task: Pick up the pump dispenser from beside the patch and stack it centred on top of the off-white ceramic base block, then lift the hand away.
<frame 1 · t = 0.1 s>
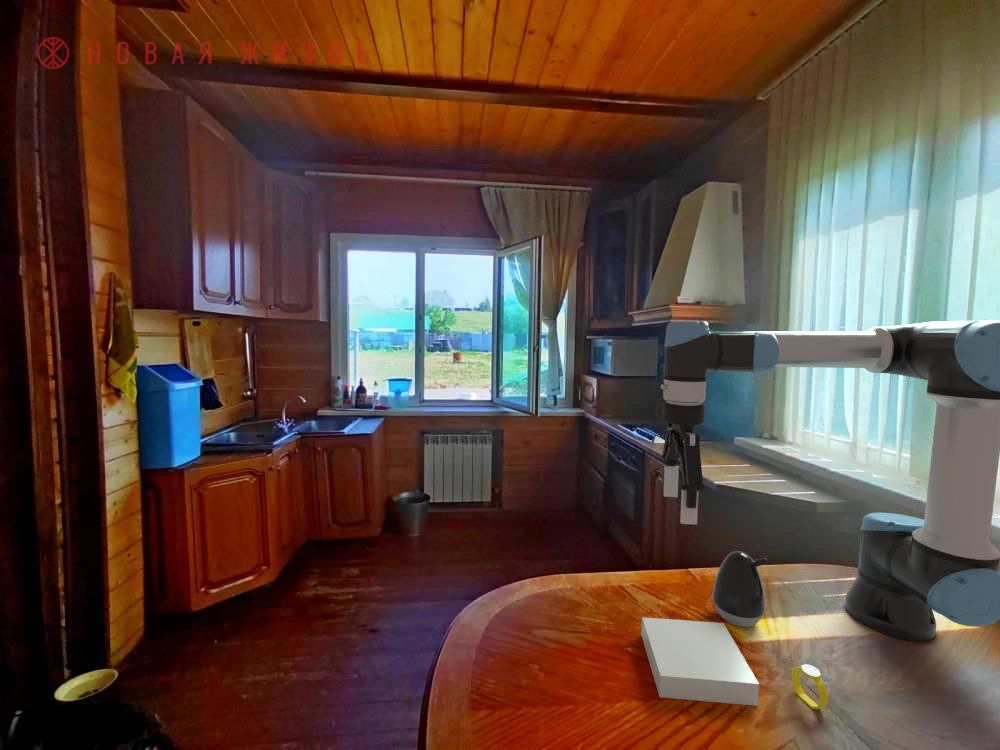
hand: (678, 509, 90), 28 cm above the table, fingers open, 13 cm apart
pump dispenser: (737, 619, 100), on the table
watch: (808, 702, 78), on the table
ceramic base: (693, 667, 86), on the table
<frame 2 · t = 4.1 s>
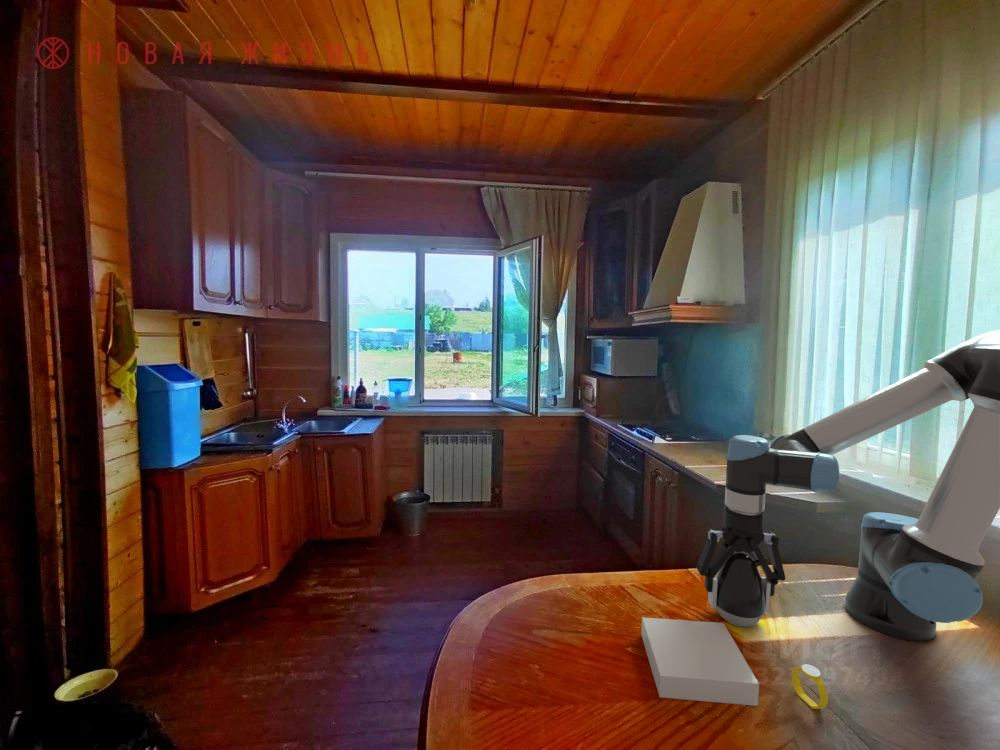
hand: (737, 606, 100), 3 cm above the table, fingers closed on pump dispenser, 10 cm apart
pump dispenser: (737, 619, 100), on the table, touching gripper
everything else where it was.
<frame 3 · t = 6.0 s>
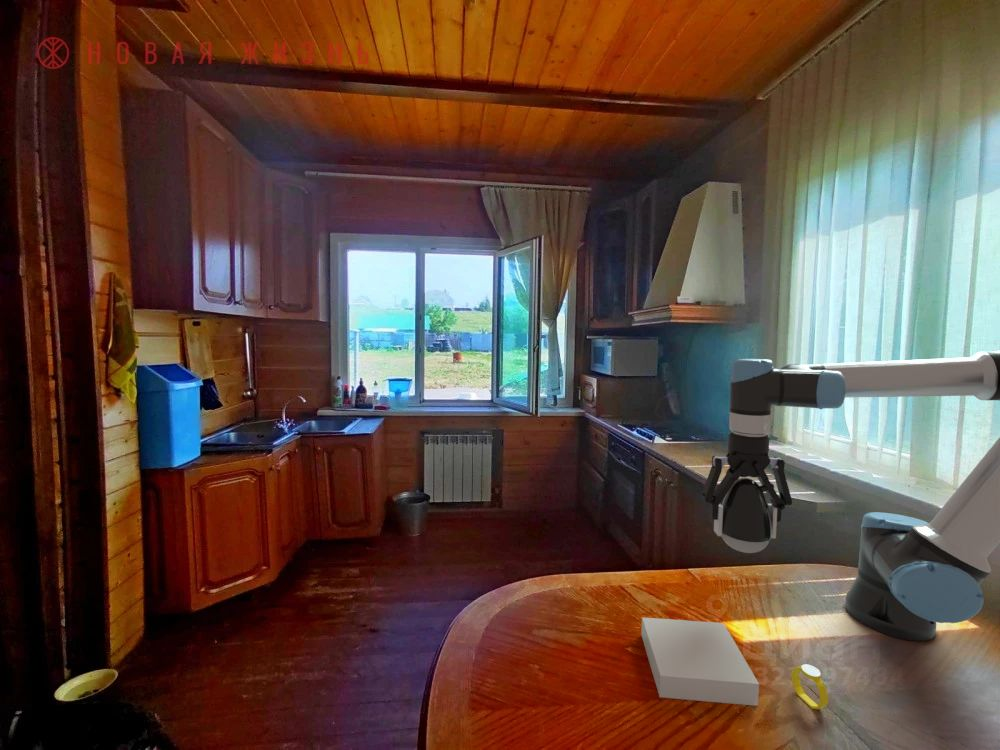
hand: (744, 534, 98), 19 cm above the table, fingers closed on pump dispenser, 10 cm apart
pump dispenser: (744, 548, 98), point 16 cm above the table, touching gripper
everything else where it was.
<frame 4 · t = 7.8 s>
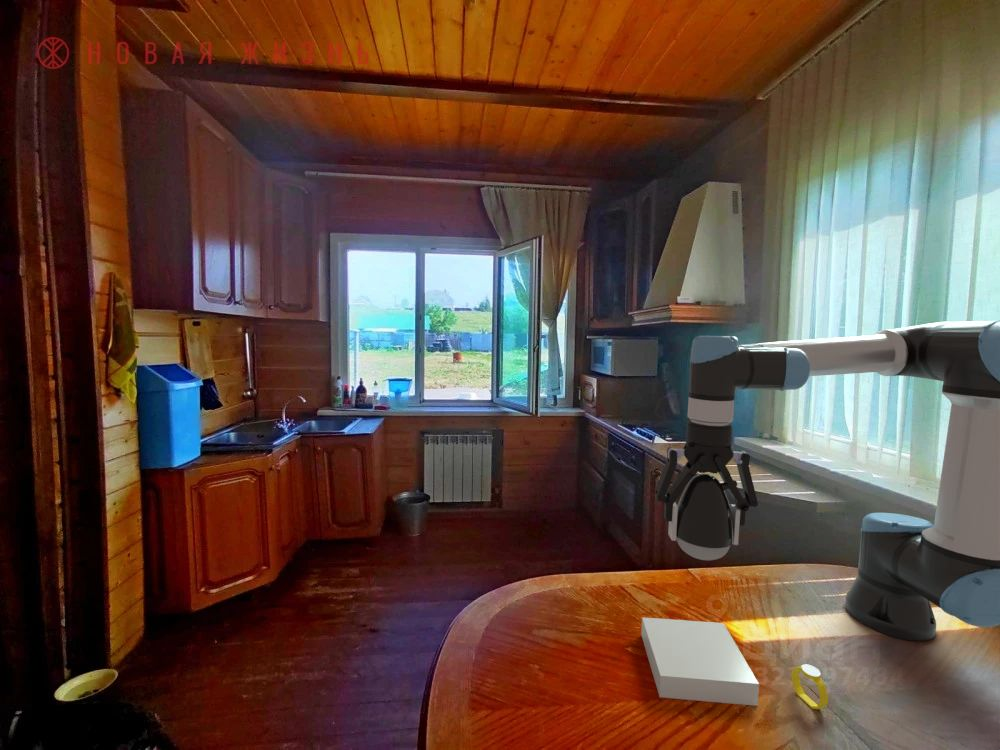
hand: (702, 539, 85), 24 cm above the table, fingers closed on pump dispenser, 10 cm apart
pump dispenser: (702, 554, 85), point 21 cm above the table, touching gripper
everything else where it was.
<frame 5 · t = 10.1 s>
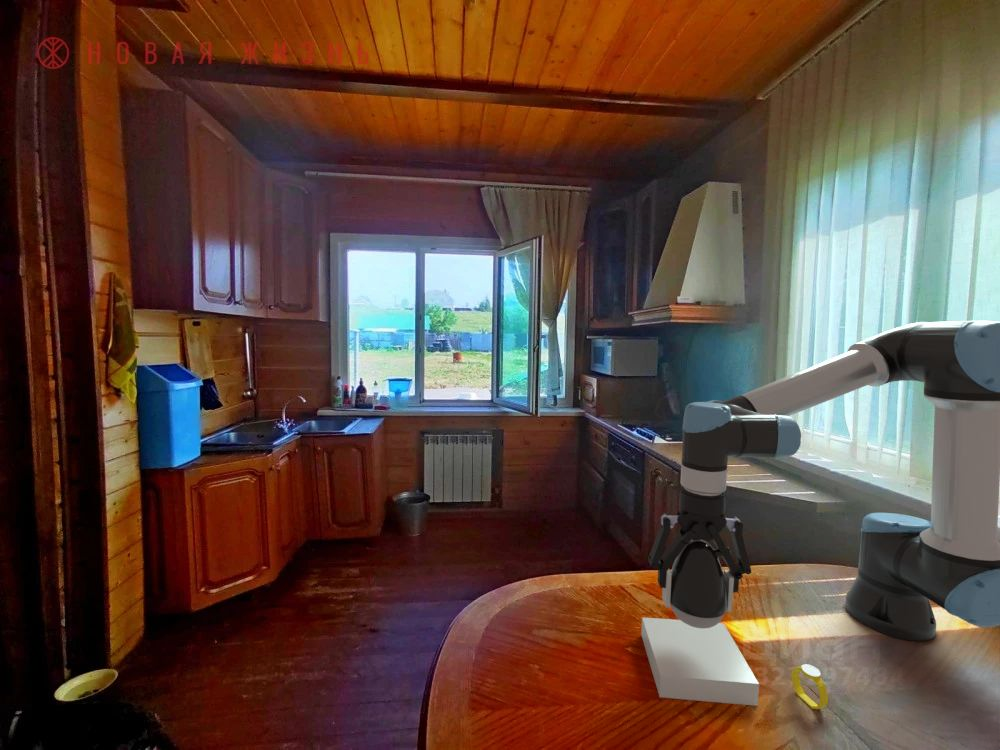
hand: (696, 605, 85), 12 cm above the table, fingers closed on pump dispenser, 10 cm apart
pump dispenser: (696, 620, 85), point 9 cm above the table, touching gripper
everything else where it was.
when the fingers open (8 cm above the table, at t = 12.0 s): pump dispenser drops 1 cm, resting on ceramic base.
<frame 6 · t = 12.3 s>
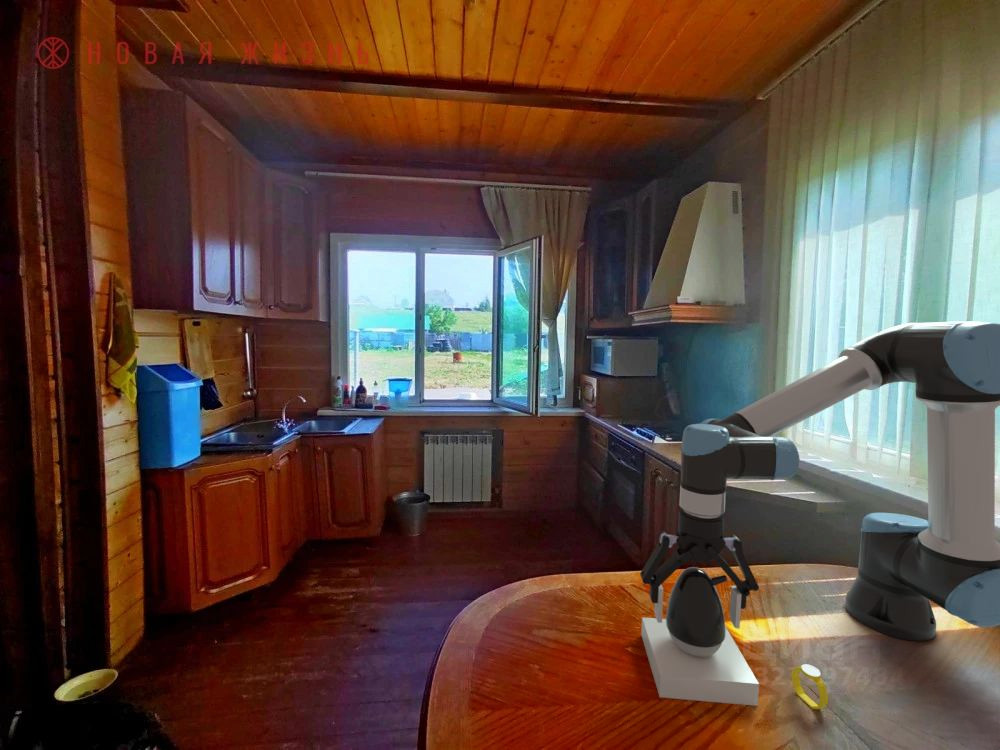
hand: (695, 621, 85), 9 cm above the table, fingers open, 13 cm apart
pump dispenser: (695, 647, 85), point 4 cm above the table, touching ceramic base
everything else where it was.
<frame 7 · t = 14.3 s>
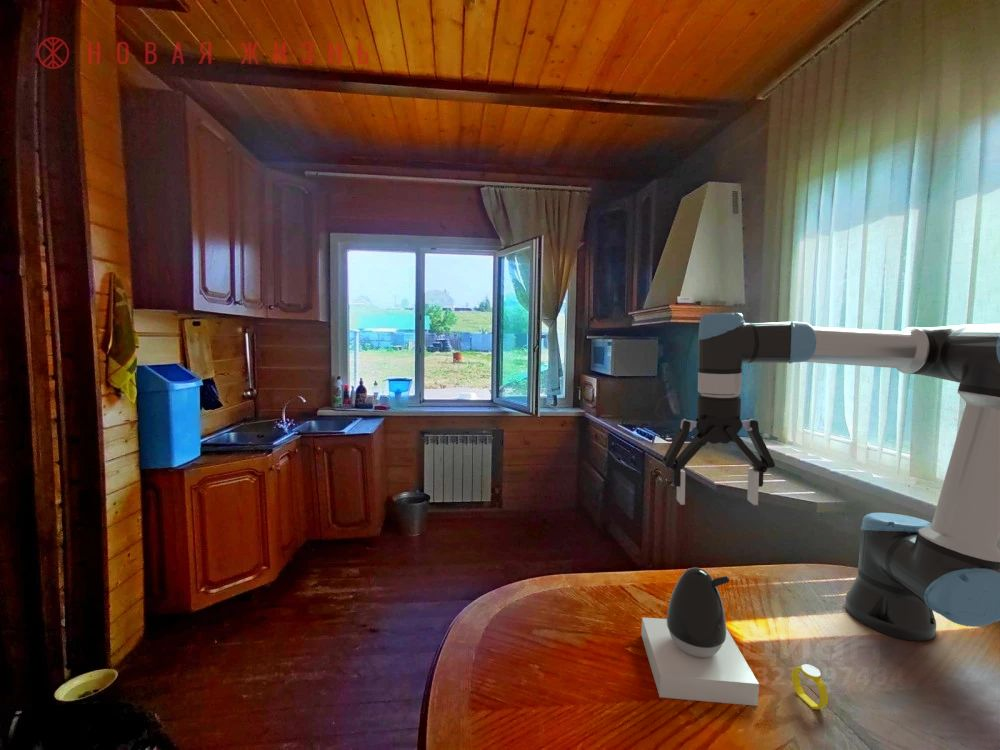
hand: (716, 502, 89), 29 cm above the table, fingers open, 13 cm apart
nothing on the table moved.
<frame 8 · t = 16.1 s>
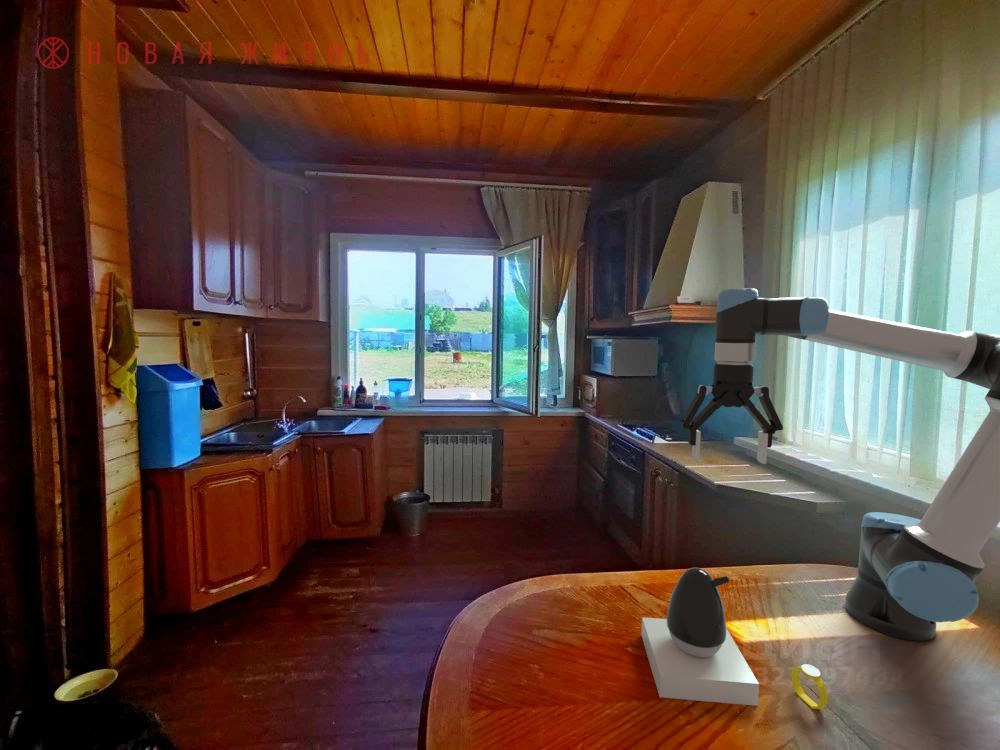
hand: (728, 461, 99), 35 cm above the table, fingers open, 13 cm apart
nothing on the table moved.
at the end: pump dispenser inside the target area on the ceramic base (0.1 cm from its centre), point 3.8 cm above the ceramic base's base; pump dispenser tilted 0°; the gripper is holding nothing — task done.
